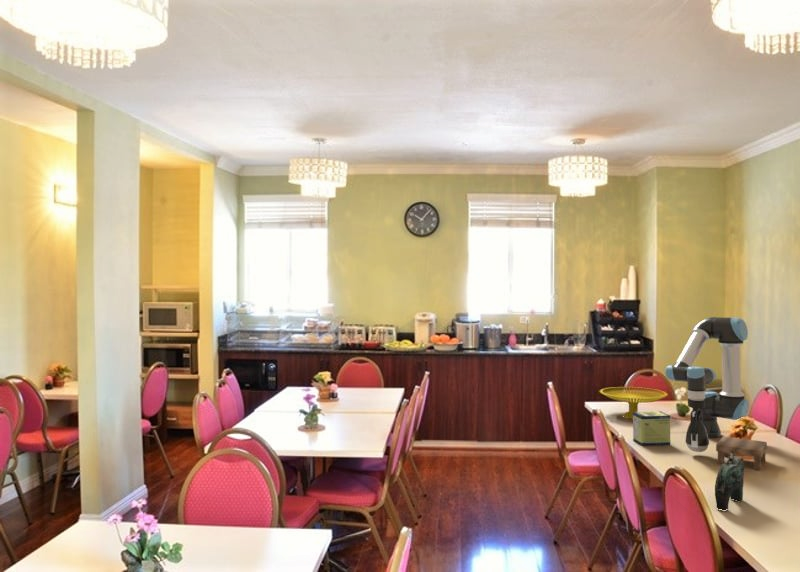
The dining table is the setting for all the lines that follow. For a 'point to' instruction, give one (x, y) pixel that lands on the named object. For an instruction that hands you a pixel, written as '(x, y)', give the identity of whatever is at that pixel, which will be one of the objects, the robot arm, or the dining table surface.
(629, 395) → the cake stand
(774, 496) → the dining table surface
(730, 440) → the walnut footstool
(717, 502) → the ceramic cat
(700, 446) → the dark grey egg shape
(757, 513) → the dining table surface
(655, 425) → the protein box
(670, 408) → the dining table surface
